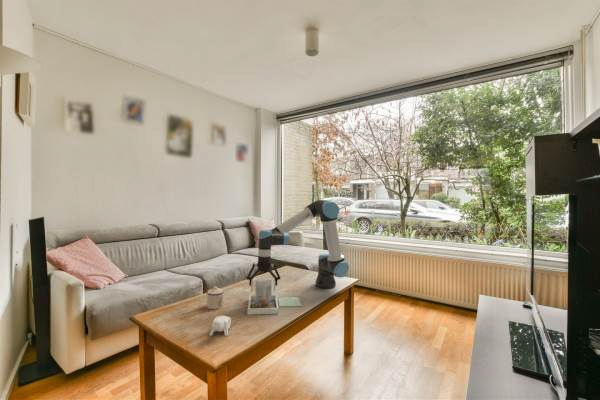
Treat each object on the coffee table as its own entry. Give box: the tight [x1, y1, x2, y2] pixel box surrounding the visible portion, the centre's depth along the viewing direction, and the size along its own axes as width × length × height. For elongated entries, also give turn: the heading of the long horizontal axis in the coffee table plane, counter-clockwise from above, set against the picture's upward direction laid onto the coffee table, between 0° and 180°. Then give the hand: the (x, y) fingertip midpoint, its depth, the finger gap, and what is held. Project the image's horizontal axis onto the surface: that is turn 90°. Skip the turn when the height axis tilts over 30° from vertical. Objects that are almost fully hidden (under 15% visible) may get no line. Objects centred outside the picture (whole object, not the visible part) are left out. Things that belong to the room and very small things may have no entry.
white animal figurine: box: [209, 315, 232, 337], centre depth 130 cm, size 9×8×15 cm
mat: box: [277, 297, 302, 308], centre depth 169 cm, size 13×13×1 cm
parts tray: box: [247, 294, 280, 316], centre depth 162 cm, size 17×21×3 cm
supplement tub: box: [254, 277, 272, 307], centre depth 165 cm, size 10×10×15 cm
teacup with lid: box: [206, 285, 224, 310], centre depth 161 cm, size 12×9×12 cm
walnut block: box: [257, 300, 270, 308], centre depth 156 cm, size 5×5×5 cm
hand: (263, 290), depth 165 cm, fingers open, 13 cm apart
